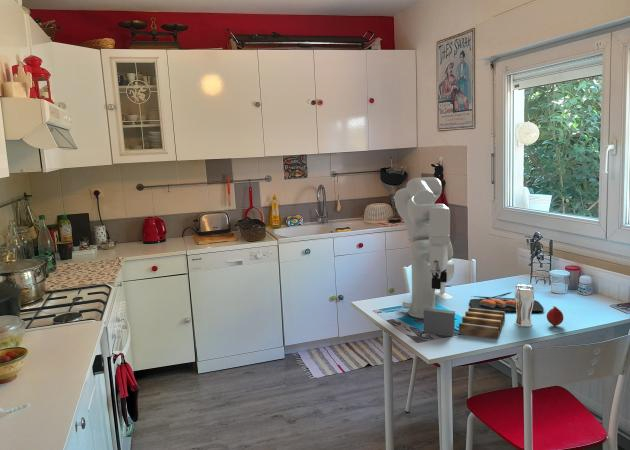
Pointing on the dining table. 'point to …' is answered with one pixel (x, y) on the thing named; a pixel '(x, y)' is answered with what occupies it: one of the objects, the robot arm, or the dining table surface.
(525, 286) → the beer glass
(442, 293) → the heart sculpture
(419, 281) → the robot arm
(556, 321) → the onion
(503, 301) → the sushi plate
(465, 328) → the rack
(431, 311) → the grey rectangular block
